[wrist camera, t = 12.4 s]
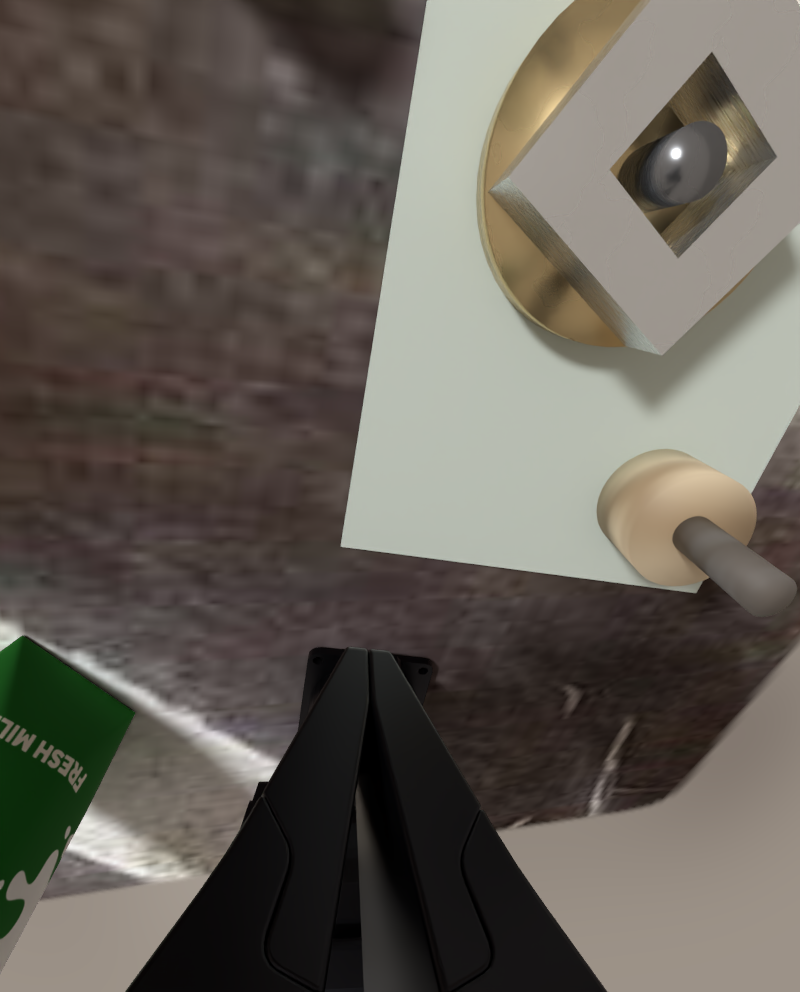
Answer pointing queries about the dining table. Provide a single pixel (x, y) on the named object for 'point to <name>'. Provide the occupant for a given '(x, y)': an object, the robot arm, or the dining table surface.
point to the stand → (690, 529)
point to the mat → (533, 356)
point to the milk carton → (46, 771)
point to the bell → (640, 170)
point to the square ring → (614, 127)
